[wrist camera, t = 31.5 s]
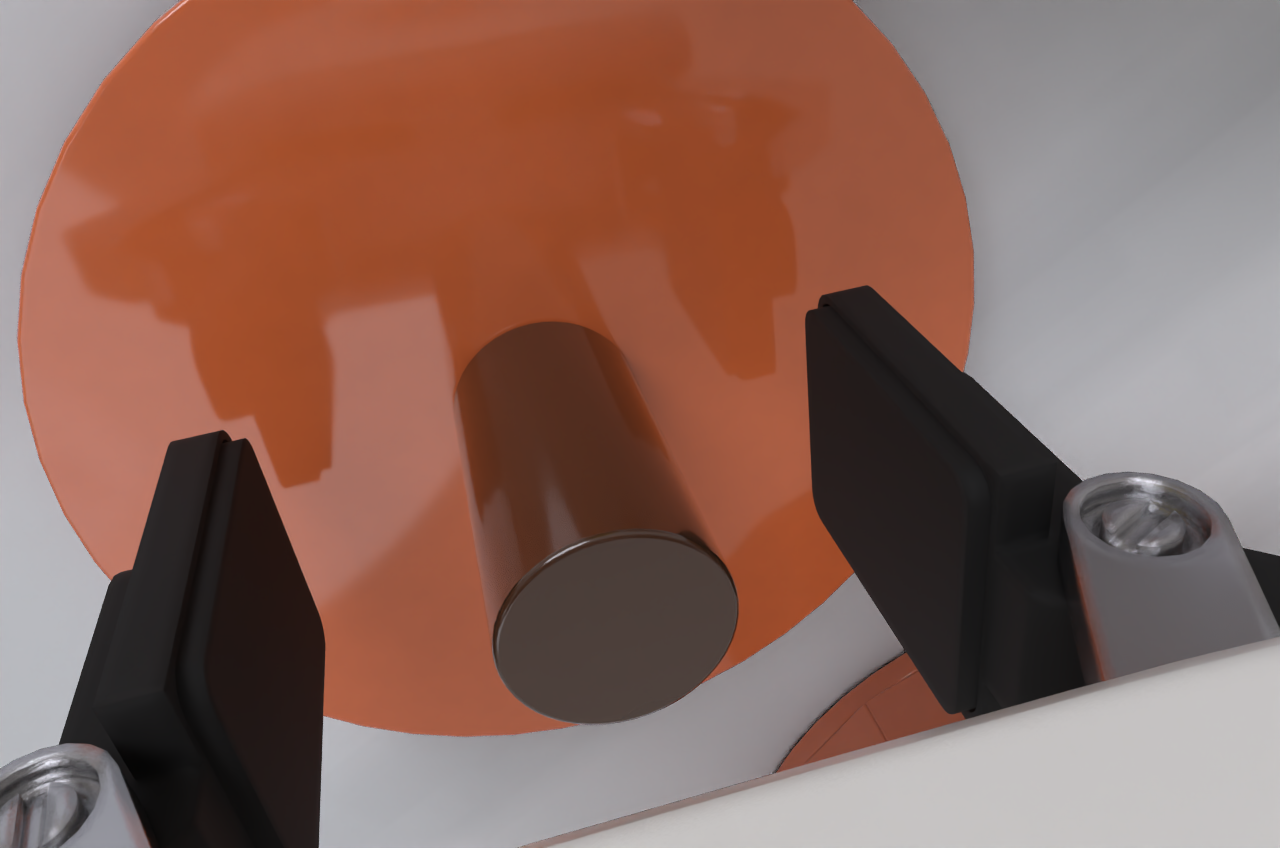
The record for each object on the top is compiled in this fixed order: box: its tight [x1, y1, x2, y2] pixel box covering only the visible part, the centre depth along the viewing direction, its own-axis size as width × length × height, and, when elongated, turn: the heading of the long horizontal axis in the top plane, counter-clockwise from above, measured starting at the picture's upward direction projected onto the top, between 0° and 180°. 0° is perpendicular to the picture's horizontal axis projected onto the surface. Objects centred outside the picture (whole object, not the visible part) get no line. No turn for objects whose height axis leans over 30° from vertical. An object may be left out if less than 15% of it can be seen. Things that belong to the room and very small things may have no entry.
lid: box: [17, 0, 974, 737], centre depth 12 cm, size 12×12×6 cm
